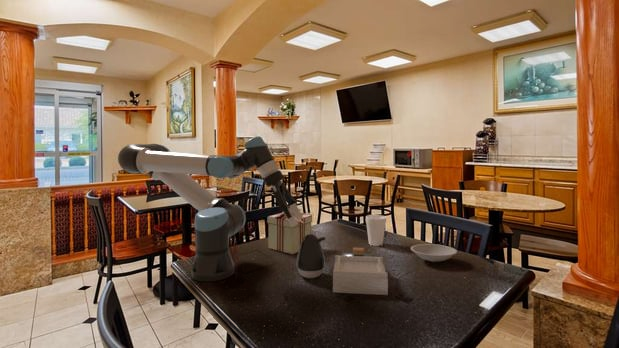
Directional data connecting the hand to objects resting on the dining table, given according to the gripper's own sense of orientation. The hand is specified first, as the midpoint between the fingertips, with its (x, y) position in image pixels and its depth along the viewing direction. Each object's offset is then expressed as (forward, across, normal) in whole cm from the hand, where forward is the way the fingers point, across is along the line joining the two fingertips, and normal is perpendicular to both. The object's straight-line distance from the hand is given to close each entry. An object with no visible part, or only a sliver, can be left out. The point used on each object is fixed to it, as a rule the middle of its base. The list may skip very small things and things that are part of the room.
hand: (297, 221), depth 123 cm
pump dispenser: (+18, -9, +3) cm, 21 cm away
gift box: (+12, +22, +13) cm, 28 cm away
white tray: (+27, -11, -12) cm, 31 cm away
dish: (+41, +9, -39) cm, 57 cm away
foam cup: (+30, +30, -21) cm, 48 cm away
